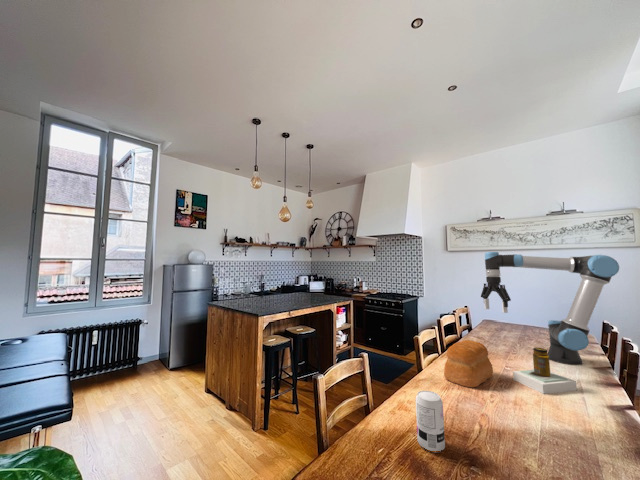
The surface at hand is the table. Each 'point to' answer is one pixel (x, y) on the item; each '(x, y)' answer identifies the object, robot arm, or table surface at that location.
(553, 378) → the riser
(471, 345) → the bread
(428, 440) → the supplement can
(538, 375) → the condiment
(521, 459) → the table surface
